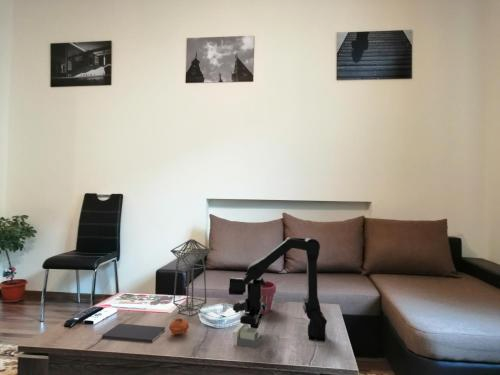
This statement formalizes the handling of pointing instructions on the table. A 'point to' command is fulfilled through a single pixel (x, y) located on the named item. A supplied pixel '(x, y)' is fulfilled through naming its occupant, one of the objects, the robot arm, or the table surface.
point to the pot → (179, 326)
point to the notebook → (134, 333)
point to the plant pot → (268, 295)
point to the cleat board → (245, 342)
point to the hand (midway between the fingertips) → (254, 334)
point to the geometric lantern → (191, 271)
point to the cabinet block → (249, 333)
